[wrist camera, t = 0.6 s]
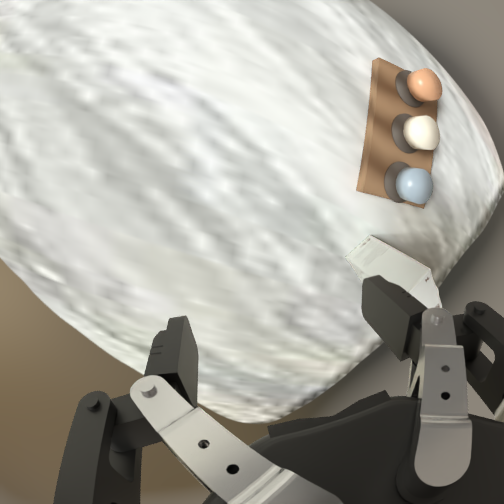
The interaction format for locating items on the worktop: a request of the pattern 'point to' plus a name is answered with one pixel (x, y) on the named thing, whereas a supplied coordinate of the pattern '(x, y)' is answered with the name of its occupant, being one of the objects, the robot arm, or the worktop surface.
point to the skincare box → (395, 269)
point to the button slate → (414, 185)
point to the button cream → (421, 132)
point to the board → (391, 132)
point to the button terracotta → (424, 85)
